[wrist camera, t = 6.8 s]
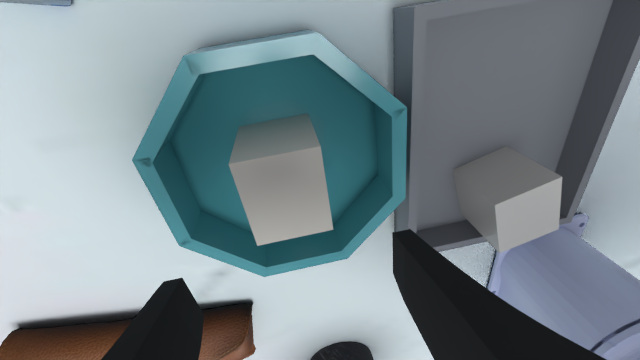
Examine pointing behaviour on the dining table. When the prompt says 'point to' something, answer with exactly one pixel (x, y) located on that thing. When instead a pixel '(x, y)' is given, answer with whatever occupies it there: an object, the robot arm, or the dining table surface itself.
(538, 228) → the light gray cube block
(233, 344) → the sunglasses case
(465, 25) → the parts tray
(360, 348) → the travel mug
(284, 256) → the bowl
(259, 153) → the white rectangular block
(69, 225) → the dining table surface
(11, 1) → the medicine box
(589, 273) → the robot arm
